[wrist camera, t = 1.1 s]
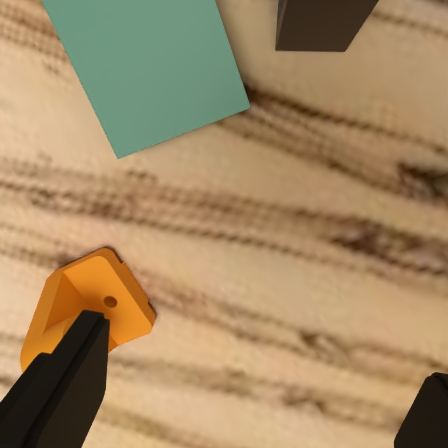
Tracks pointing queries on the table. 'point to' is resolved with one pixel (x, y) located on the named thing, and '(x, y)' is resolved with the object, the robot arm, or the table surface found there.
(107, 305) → the bracket
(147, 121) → the green block
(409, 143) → the table surface
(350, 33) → the phone stand
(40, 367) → the robot arm
